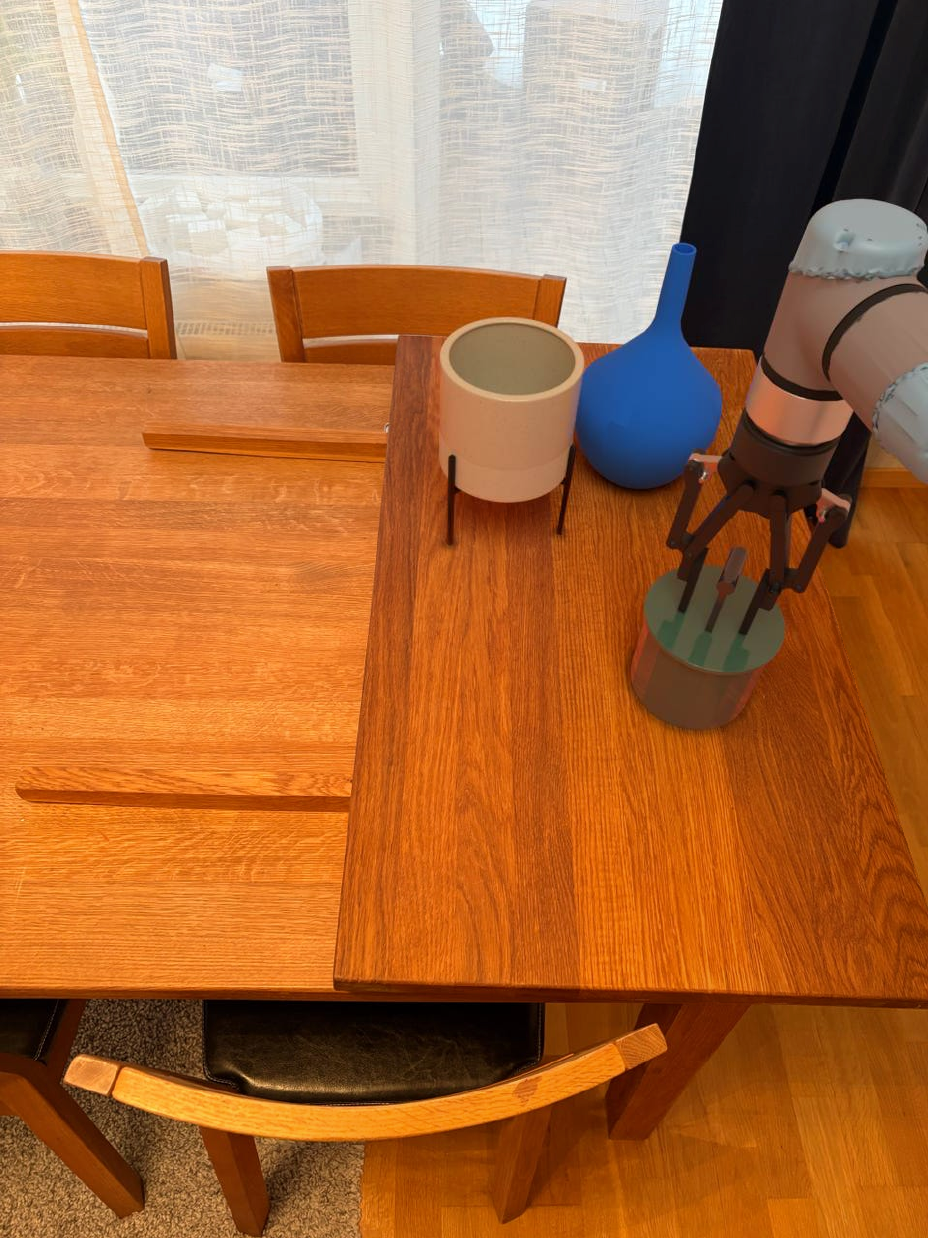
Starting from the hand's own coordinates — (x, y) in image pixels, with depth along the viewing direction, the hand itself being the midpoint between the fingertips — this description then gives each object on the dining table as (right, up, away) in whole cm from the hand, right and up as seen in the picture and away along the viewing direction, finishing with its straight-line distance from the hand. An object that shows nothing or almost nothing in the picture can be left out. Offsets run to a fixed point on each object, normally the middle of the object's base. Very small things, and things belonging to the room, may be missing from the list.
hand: (715, 612), depth 83 cm
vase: (-2, +20, +31) cm, 37 cm away
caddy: (0, -7, +9) cm, 12 cm away
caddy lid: (0, -1, +1) cm, 1 cm away
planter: (-20, +12, +25) cm, 34 cm away
